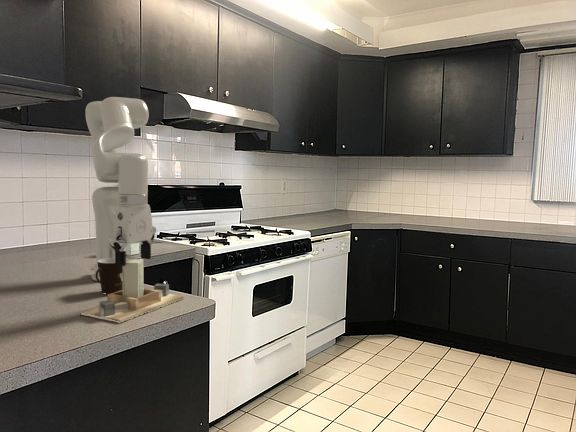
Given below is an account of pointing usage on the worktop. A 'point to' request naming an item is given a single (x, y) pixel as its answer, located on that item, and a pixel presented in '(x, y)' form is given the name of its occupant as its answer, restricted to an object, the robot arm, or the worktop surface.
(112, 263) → the coffee mug
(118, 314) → the board
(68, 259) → the worktop surface
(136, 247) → the syrup box
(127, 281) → the skincare box
